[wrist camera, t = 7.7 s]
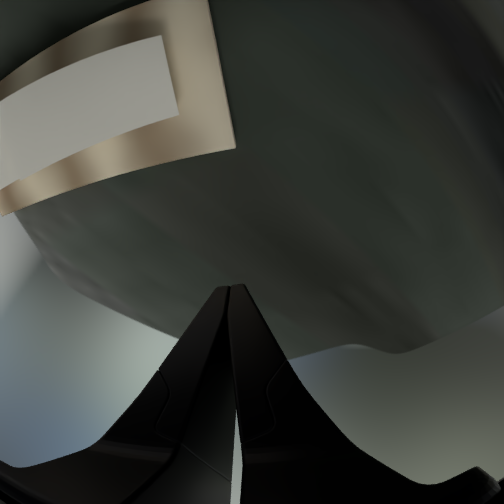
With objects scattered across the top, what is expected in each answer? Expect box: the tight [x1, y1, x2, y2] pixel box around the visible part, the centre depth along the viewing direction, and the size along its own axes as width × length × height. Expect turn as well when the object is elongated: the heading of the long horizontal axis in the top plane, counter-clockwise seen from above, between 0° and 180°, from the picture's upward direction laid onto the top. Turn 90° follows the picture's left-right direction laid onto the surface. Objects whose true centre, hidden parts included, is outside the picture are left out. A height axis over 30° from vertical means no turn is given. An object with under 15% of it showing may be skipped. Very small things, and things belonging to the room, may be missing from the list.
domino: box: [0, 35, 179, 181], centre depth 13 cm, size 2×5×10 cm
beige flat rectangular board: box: [0, 0, 236, 216], centre depth 16 cm, size 22×11×1 cm, turn 99°
